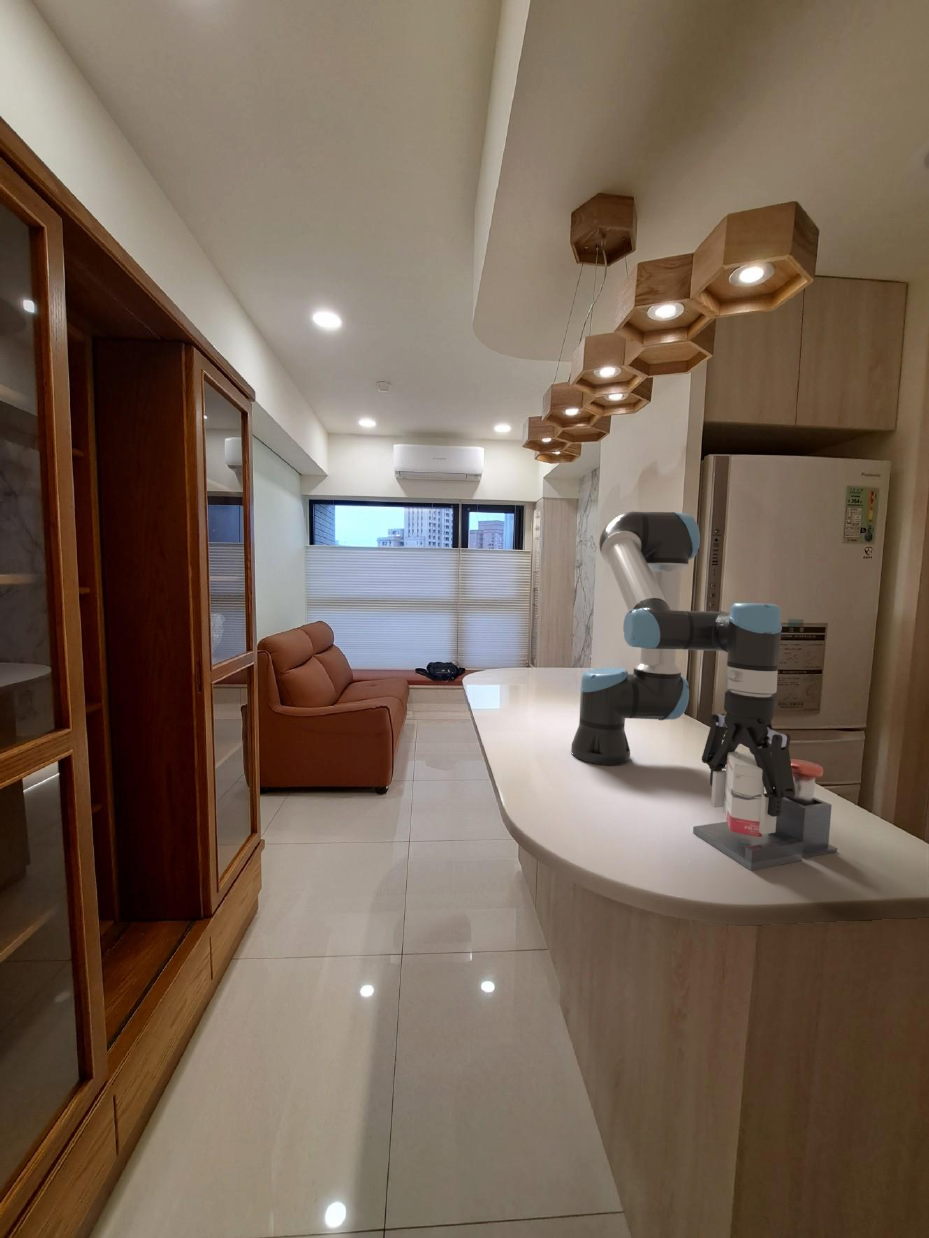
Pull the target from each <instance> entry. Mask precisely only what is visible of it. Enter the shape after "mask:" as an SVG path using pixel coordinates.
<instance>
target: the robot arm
mask: <svg viewBox="0 0 929 1238" xmlns="http://www.w3.org/2000/svg"><path fill="white" fill-rule="evenodd" d="M700 542H701V534H700V529H699V524H698V523H697V521H696V520H695V518H694V517H693V516H692V515H691V514H687V513H681V512H676V511H673V512H671V511H669V512H667V511H634V510H633V511H632V510H631V511H627V512H624V513H621V514H619V515H617V516H615V517H613V519H611V520H610V521H609V522H608V523H607V524H606V525H605V526H604V528H603V530H602V532H601V534H600V537H599V543H598V545H599V551H600V554H601V557H602V558H603V560H604V561H605V562H606V563H607V564H608V565H610V568H611V571H612V573H613V575H614V578H615V581H616V583H617V586H618V588H619V590H620V593H621V595H622V598H623V601H624V603H625V605H626V607H627V612H626V614H625V615H624V619H623V628H622V629H623V638H624V640H625V642H626V644H627V645H628V646H629V647H632V648H640V658H639V662H637V663H636V664H635V665H634V666H633V673H632V674H631V673H629V672H628V671H627V669H625V668H622V667H599V668H598V667H597V668H593V669H588V670H587V671H585V672H584V673H583V674H582V676H581V682H580V688H579V690H580V700H579V701H580V703H579V721H578V727H577V729H576V732H575V734H574V737H573V739H572V740H573V741H572V742H571V750H570V751H571V752H572V753H573V755H575V756H576V757H578V758H579V759H578V758H577V759H578V760H580V759H582V760H581V761H583V760H584V761H583V762H586V763H590V764H594V765H603V766H620V765H624V764H627V763H628V762H630V760H631V750H630V746H629V742H628V738H627V735H626V730H625V724H626V723H625V722H626V719H637V720H639V719H641V720H658V721H665V720H666V721H667V720H671V721H672V720H677V719H679V718H681V716H682V715H683V714H684V713H685V712H686V709H687V707H688V704H689V700H690V689H689V682H688V680H687V679H686V677H684V676H682V671H681V669H680V667H679V666H677V665H676V657H677V650H686V651H687V650H690V651H691V650H692V651H710V652H711V651H712V652H713V651H715V652H725V653H727V660H726V665H727V666H726V677H725V678H726V680H725V687H726V688H727V689H728V690H726V691H725V692H724V704H723V709H724V711H725V712H726V714H724V713H715V714H714V713H713V714H711V715H710V728H709V731H708V735H707V739H706V741H705V742H706V743H705V745H704V749H703V752H702V756H701V762H702V763H703V764H706V765H708V768H709V769H710V777H709V785H710V786H711V797H710V807H712V808H719V807H723V806H724V793H725V779H726V764H727V755H728V752H734V751H737V750H736V749H737V748H738V746H740V745H742V746H744V747H746V748H748V750H749V752H750V754H753V755H754V758H755V760H756V763H757V766H758V767H759V768H761V769H762V770H763V771H762V781H763V784H764V791H766V793H765V792H764V794H762V796H761V810H760V824H759V833H761V834H769V833H775V830H776V817H777V816H780V814H781V803H782V798H785V797H792V796H795V787H794V780H793V774H792V767H791V761H790V759H791V754H790V748H789V747H790V744H791V736H790V734H788V733H780V732H777V731H776V730H774V728H773V724H772V720H773V719H774V718H775V717H774V716H775V714H776V712H775V711H776V699H777V698H776V697H775V696H774V695H773V694H776V693H777V690H778V671H779V670H778V666H779V659H780V658H779V657H780V648H781V647H780V645H781V637H782V630H783V627H782V626H783V625H782V609H781V607H780V606H779V605H777V604H774V603H754V602H751V603H750V602H748V603H747V602H735V603H733V604H732V605H731V607H730V611H729V612H726V611H723V610H718V611H717V610H710V611H702V610H701V611H700V610H699V611H698V610H697V611H696V610H695V611H693V610H680V596H681V584H682V583H681V582H682V572H683V571H684V570H685V569H687V568H688V566H689V561H690V560H691V559H694V558H695V557H696V556H697V554H698V550H699V549H700ZM726 729H727V730H726ZM571 752H570V753H571ZM572 753H571V754H572ZM573 755H572V756H573ZM575 756H574V757H575ZM576 757H575V758H576Z"/></svg>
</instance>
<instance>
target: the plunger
mask: <svg viewBox="0 0 929 1238" xmlns="http://www.w3.org/2000/svg"><path fill="white" fill-rule="evenodd" d="M790 761H791V767H792V774H793V780H794V787H795V796H792V797H788V799H790V800H792V801H794V802H796V803H798V804H801V805H803V806H808V805H813V801H814V798H815V788H816V787H815V785H816V784H815V783H816V779H817V778H822V777H823V776H824V767H823V766H822V765H820V764H818V763H815V762H812V761H809V760H803V759H796V758H790Z"/></svg>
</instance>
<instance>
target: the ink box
mask: <svg viewBox="0 0 929 1238" xmlns="http://www.w3.org/2000/svg"><path fill="white" fill-rule="evenodd" d="M725 771H726V779H725V793H724V806H722V807H723V809H722V810H723V814H724V815H723V816H724V817H725V820H726V822H727V823H728V826H729V829H730V831H731V832H735V833H740V834H744V835H750V836H757V837H762V834H761V833H759V824H760V810H761V796H762V794H765V787H764V784H763V781H762V771H763V770H762V769H761V768H759V767H758V766H757V763H756V760H755V758H754V755H753V754H751V753H747V752H743V751H738V750H735V751H734V752H728V755H727V764H726V769H725Z"/></svg>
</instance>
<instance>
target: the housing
mask: <svg viewBox="0 0 929 1238" xmlns="http://www.w3.org/2000/svg"><path fill="white" fill-rule="evenodd" d="M831 815H832V804H831V803H829V802H827V801H826V802H825V801H823V800H822V799H819V798H816V797H814V801H813V805H808V806H803V805H801V804H798V803H796V802H794V801H792V800H790V799H788V797H785V798H782V803H781V814H780V816H777V817H776V830H775V833H769V834H767V835H769V836H771V837H773V838H775V839H776V840H778V841H783V840H789V839H795V838H797V839H798V840H800V841H802V842H803V851H802V859H806V858H812V857H816V856H821V855H822V856H823V855H827V854H832V853H836V852H838V848H837V847H836V846H834V845H832V844H830V843H829V842H830V841H829V840H830V828H831Z"/></svg>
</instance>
